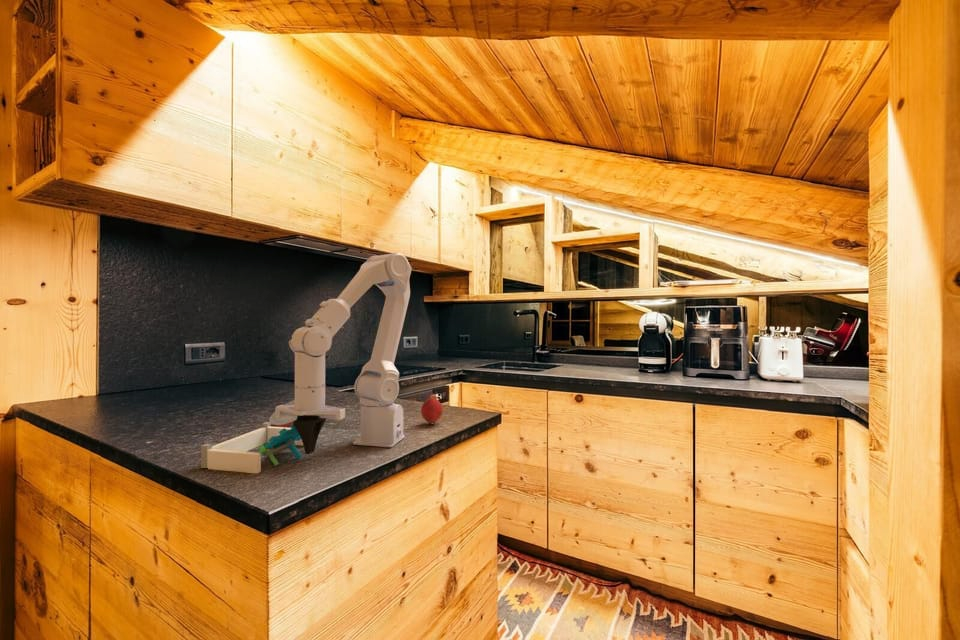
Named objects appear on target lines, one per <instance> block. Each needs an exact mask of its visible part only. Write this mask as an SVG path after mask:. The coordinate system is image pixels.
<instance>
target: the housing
mask: <svg viewBox="0 0 960 640" xmlns="http://www.w3.org/2000/svg"><path fill="white" fill-rule="evenodd" d="M284 428H285V429H286V430H290V429H291V428H286V427H271V422H269V421H265V422H263V423H262V424H261V427H260V428H258V429H255V430H252V431H250V432H247V433H244V434H241V435H239V436H236V437H232V438H231V439H227V440H225V441H222V442H220V443H218V444H217V443H216V444H215V445H213V444H212V443H204V444H202V445H200V446H201V447H200V449H201V451H200V457H201V458H200V461H201V462H200V468H201V469H202V468H208V469H207V470H217V471H224V472H225V471H227V472H234V473H235V472H236V473H237V472H238V473H248V474H255V475H257V474H259V473H260V472H262V469H261V468H262V465H261V463H262V455H261V452H254V451H252V450H253V449H256V448H258V447H259V446H261V445H263V446H264V445H265V444H268V443H270V442H269V439H270V438H271V437H273V436H279V435H280V433H279V432H280V431H281V430H282V429H284ZM294 442H295V444H294V445H295V446H303V442H302V439H300V440H299V441H294ZM303 447H304V446H303Z"/></svg>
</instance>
